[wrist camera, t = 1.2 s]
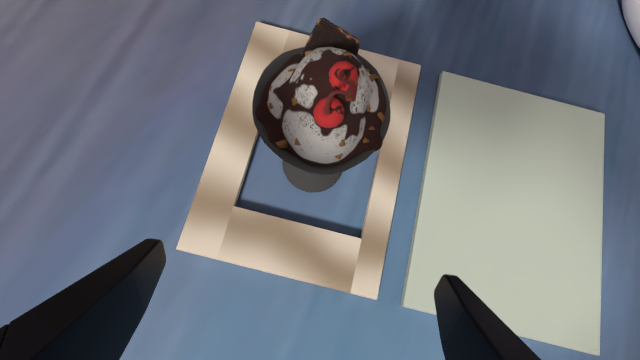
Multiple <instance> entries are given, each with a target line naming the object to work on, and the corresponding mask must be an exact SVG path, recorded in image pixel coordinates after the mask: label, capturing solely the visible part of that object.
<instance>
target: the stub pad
mask: <svg viewBox="0 0 640 360" xmlns="http://www.w3.org/2000/svg"><path fill="white" fill-rule="evenodd" d="M604 125H605V114H603V113H600V112H596V111H592V110H588V109H584V108H581V107H577V106H573V105H569V104H566V103H562V102H558V101H554V100H550V99H547V98H543V97H539V96H535V95H532V94H528V93H524V92H520V91H517V90H513V89H509V88H505V87H501V86H498V85H494V84H490V83H486V82H483V81H479V80H475V79H471V78H467V77H464V76H460V75H456V74H452V73H449V72H445V71H443V72H442V73H441V74H440V76H439V82H438V88H437V94H436V100H435V105H434V111H433V117H432V123H431V129H430V135H429V141H428V146H427V152H426V158H425V164H424V170H423V176H422V182H421V187H420V193H419V199H418V205H417V211H416V217H415V223H414V228H413V234H412V240H411V246H410V252H409V258H408V264H407V269H406V275H405V281H404V287H403V293H402V299H401V306H403V307H407V308H411V309H415V310H419V311H423V312H427V313H431V314H435V315H437V313H436V307H435V301H434V290H435V288H436V286H437V284H438V282H439V280H440V279H441V277H442V275H444V274H450V275H456V276H458V277H459V278H460V279H461V280H462V281H463V282H464V283H465V284H466V285H467V286H468V287H469V288H470V289H471V290H472V291H473V292H474V293H475V294H476V295H477V296H478V297H479V298H480V299H481V300H482V301H483V302H484V303H485V304H486V305H487V306H488V307H489V308H490V309H491V310H492V311H493V312H494V313H495V314H496V315H497V316H498V317H499V318H500V319H501V320H502V321H503V322H504V323H505V324H506V325H507V326H508V327H509V328H510V329H511V330H512V331H513V332H514V333H515V334H516V335H518V336H522V337H526V338H529V339H533V340H537V341H541V342H545V343H549V344H553V345H557V346H561V347H565V348H569V349H573V350H577V351H581V352H585V353H589V354H593V355H597V356H600V313H601V266H602V219H603V172H604Z"/></svg>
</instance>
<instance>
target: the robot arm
mask: <svg viewBox="0 0 640 360" xmlns="http://www.w3.org/2000/svg"><path fill="white" fill-rule="evenodd" d="M165 263H166V255H165V250H164V246H163V242H162V241H161V240H158V239H146V240H144V241H142V242H141V243H139V244H137V245H136V246H134V247H132V248H131V249H129V250H127V251H126V252H124V253H123V254H121V255H119V256H118V257H116V258H114V259H113V260H111V261H109V262H108V263H106V264H105V265H103V266H101V267H100V268H98V269H96V270H95V271H93V272H91V273H90V274H88V275H86V276H85V277H83V278H82V279H80V280H78V281H77V282H75V283H73V284H72V285H70V286H68V287H67V288H65V289H64V290H62V291H60V292H59V293H57V294H55V295H54V296H52V297H50V298H49V299H47V300H46V301H44V302H42V303H41V304H39V305H37V306H36V307H34V308H32V309H31V310H29V311H28V312H26V313H24V314H23V315H21V316H19V317H18V318H16V319H14V320H13V321H11V322H10V324H9V325H8V324H7V325H4V326H3V327H1V328H0V360H119V359H120V357H121V355H122V354H123V352H124V350H125V348H126V346H127V345H128V343H129V341H130V339H131V337H132V335H133V334H134V332H135V330H136V328H137V326H138V325H139V323H140V321H141V319H142V317H143V315H144V313H145V311H146V309H147V307H148V305H149V302H150V300H151V297H152V295H153V293H154V290H155V288H156V286H157V283H158V281H159V278H160V276H161V274H162V271H163V269H164V266H165ZM434 301H435V307H436V313H437V320H438V326H439V332H440V338H441V344H442V348H443V352H444V356H445V360H541V359H540V358H539V357H538V356H537V355H536V354H535V353H534V352H533V351H532V350H531V349H530V348H529V347H528V346H527V345H526V344H525V343H524V342H523V341H522V340H521V339H520V338H519V337H518V336H517V335H516V334H515V333H514V332H513V331H512V330H511V329H510V328H509V327H508V326H507V325H506V324H505V323H504V322H503V321H502V320H501V319H500V318H499V317H498V316H497V315H496V314H495V313H494V312H493V311H492V310H491V309H490V308H489V307H488V306H487V305H486V304H485V303H484V302H483V301H482V300H481V299H480V298H479V297H478V296H477V295H476V294H475V293H474V292H473V291H472V290H471V289H470V288H469V287H468V286H467V285H466V284H465V283H464V282H463V281H462V280H461V279H460V278H459V277H458V276H456V275H450V274H444V275H442V277H441V279H440V280H439V282H438V284H437V286H436V288H435V290H434Z"/></svg>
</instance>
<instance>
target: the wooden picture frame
mask: <svg viewBox="0 0 640 360" xmlns="http://www.w3.org/2000/svg"><path fill="white" fill-rule="evenodd" d="M309 37H310V36H309V35H305V34H301V33H297V32H294V31H290V30H286V29H282V28H279V27H275V26H271V25H267V24H263V23H260V22H256V24H255V27H254V30H253V33H252V36H251V38H250V41H249V44H248V47H247V50H246V53H245V55H244V58H243V61H242V64H241V67H240V70H239V72H238V75H237V78H236V81H235V84H234V87H233V89H232V92H231V95H230V98H229V101H228V104H227V106H226V109H225V112H224V115H223V118H222V121H221V123H220V126H219V129H218V132H217V135H216V138H215V140H214V143H213V146H212V149H211V152H210V155H209V157H208V160H207V163H206V166H205V169H204V172H203V174H202V177H201V180H200V183H199V186H198V189H197V191H196V194H195V197H194V200H193V203H192V206H191V208H190V211H189V214H188V217H187V220H186V222H185V225H184V228H183V231H182V234H181V237H180V239H179V242H178V245H177V248H176V249H178V250H182V251H185V252H189V253H193V254H197V255H201V256H205V257H209V258H213V259H217V260H221V261H225V262H229V263H233V264H237V265H241V266H245V267H249V268H253V269H257V270H261V271H265V272H269V273H272V274H276V275H280V276H284V277H288V278H292V279H296V280H300V281H304V282H308V283H312V284H316V285H320V286H324V287H328V288H332V289H336V290H340V291H344V292H348V293H352V294H355V295H359V296H363V297H367V298H371V299H375V300H377V296H378V291H379V285H380V280H381V275H382V270H383V264H384V259H385V254H386V248H387V243H388V238H389V233H390V227H391V222H392V217H393V211H394V206H395V201H396V196H397V190H398V185H399V180H400V174H401V169H402V164H403V159H404V153H405V148H406V143H407V137H408V132H409V127H410V122H411V116H412V111H413V106H414V100H415V95H416V90H417V85H418V79H419V74H420V69H421V65H418V64H415V63H411V62H407V61H403V60H399V59H396V58H392V57H388V56H384V55H381V54H377V53H373V52H369V51H365V50H362V49H359V51H358V54H359V55H360V56H362V57H363V58H365V59H366V60H367V61H368V62H369V63H370V64H371V65H372V66H373V67H374V68H375V69H376V70H377V71H378V73H379V75H380V77H381V78H382V80H383V82H384V85H385V87H386V89H387V92H388V97H389V102H390V111H391V113H390V124H389V128H388V131H387V133H386V135H385V138H384V140H383V144H382V147H381V148H380V149H379V152H378V156H377V161H376V166H375V171H374V175H373V180H372V185H371V189H370V194H369V199H368V204H367V208H366V213H365V218H364V223H363V227H362V232H361V237H360V238H357V237H353V236H349V235H345V234H341V233H337V232H333V231H329V230H325V229H322V228H318V227H314V226H310V225H306V224H302V223H298V222H294V221H290V220H286V219H282V218H278V217H275V216H271V215H267V214H263V213H259V212H255V211H251V210H247V209H243V208H239V207H235V206H236V203H237V200H238V197H239V194H240V191H241V187H242V184H243V181H244V178H245V175H246V172H247V168H248V165H249V162H250V159H251V156H252V153H253V150H254V146H255V143H256V140H257V137H258V134H259V133H258V131H257V128H256V126H255V124H254V120H253V114H252V102H253V96H254V91H255V88H256V85H257V83H258V80H259V78H260V76H261V74H262V73H263V71H264V69H265V68H266V67H267V66H268V65H269V64H270V63H271V62H272V61H273V60H274V59H275V58H277V57H278V56H279V55H281V54H282V53H284V52H287V51H290V50H293V49H296V48H301V47H305V45H306V43H307V41H308V39H309Z"/></svg>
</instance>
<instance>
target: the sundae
mask: <svg viewBox="0 0 640 360" xmlns="http://www.w3.org/2000/svg"><path fill="white" fill-rule="evenodd" d="M359 46H360V41H359V40H358V39H357V38H356V37H354V36H353V35H351V34H350V33H348V32H347V31H345V30H344V29H342V28H340V27H339V26H336V25H334V24H333V23H331V22H330V21H328V20H327V19H325V18H321V19H319V20H318V21H317V23H316V25H315V27H314V29H313V31H312V33H311V35H310V37H309V39H308V41H307V43H306V45H305V47H301V48H296V49H293V50H290V51H287V52H284V53H282V54H281V55H279V56H278V57H277V58H275V59H274V60H273V61H272V62H271V63H270V64H269V65H268V66H267V67H266V68H265V69H264V71H263V73H262V74H261V76H260V78H259V80H258V83H257V85H256V88H255V91H254V96H253V102H252V114H253V120H254V124H255V126H256V128H257V131H258V133H259V134H260V136H261V138H262V139H263V141H264V143H265V144H266V145H267V146H268V147H269V148H270V149H271V150H272V151H273V152H274V153H275V154H277V155H278V156H279V157H280V158H281V159H283V170H284V172H285V175H286V177H287V179H288V180H289V181H290V182H291V183H292V184H293V185H294V186H295V187H297V188H299V189H301V190H303V191H307V192H321V191H323V190H326V189H328V188H330V187H332V186H333V185H334V184H335V183H336V182H337V180H338V179H339V178H340V175H341V173H342V172H343V171H345V170H348V169H350V168H352V167H354V166H356V165H357V164H359V163H361V162H362V161H364V160H366V159H367V158H368V157H369V156H370V155H371V154H372V153H373V152H374V151H377V150H379V149H380V148H381V147H382V144H383V140H384V138H385V135H386V133H387V131H388V128H389V124H390V113H391V111H390V102H389V97H388V92H387V89H386V87H385V85H384V82H383V80H382V78H381V77H380V75H379V73H378V71H377V70H376V69H375V68H374V67H373V66H372V65H371V64H370V63H369V62H368V61H367V60H366V59H365V58H363V57H362V56H360V55H359V54H358V51H359Z"/></svg>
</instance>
